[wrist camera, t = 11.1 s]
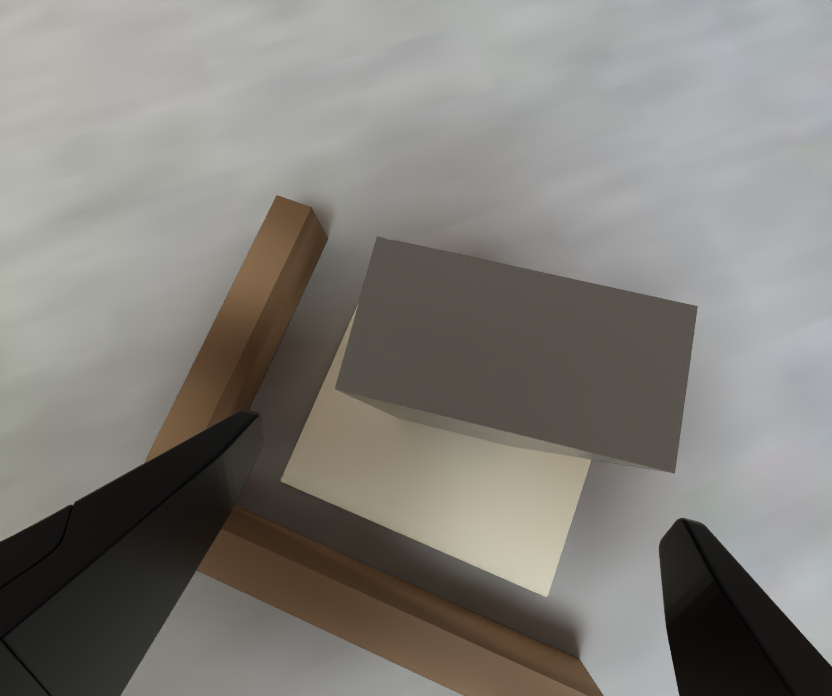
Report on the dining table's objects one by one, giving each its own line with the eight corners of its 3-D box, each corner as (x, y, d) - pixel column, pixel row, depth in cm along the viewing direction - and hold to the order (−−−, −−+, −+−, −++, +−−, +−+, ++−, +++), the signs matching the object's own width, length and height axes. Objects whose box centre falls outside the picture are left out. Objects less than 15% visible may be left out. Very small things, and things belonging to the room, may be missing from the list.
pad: (545, 595, 18) (547, 598, 18) (281, 480, 19) (279, 481, 19) (632, 328, 20) (634, 327, 20) (387, 239, 21) (387, 237, 21)
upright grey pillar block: (398, 418, 19) (334, 389, 7) (430, 290, 20) (428, 52, 8) (511, 446, 19) (675, 473, 6) (537, 314, 20) (724, 106, 7)
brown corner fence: (567, 701, 17) (595, 756, 14) (160, 515, 19) (111, 529, 16) (669, 365, 20) (711, 353, 17) (297, 227, 22) (276, 195, 19)
